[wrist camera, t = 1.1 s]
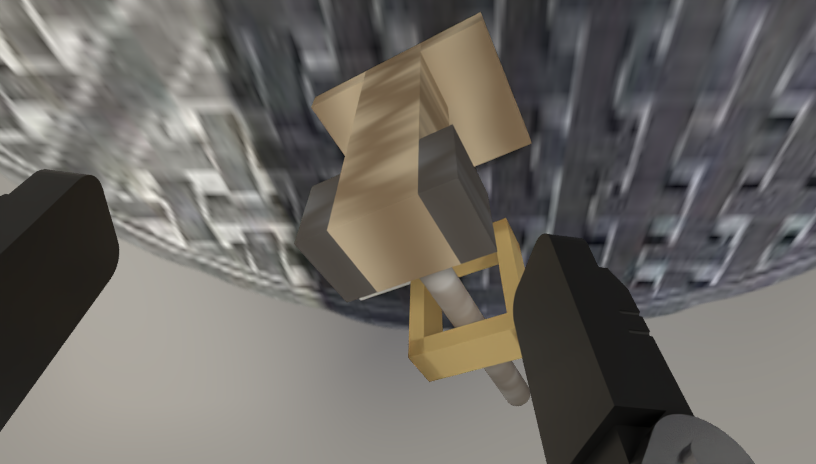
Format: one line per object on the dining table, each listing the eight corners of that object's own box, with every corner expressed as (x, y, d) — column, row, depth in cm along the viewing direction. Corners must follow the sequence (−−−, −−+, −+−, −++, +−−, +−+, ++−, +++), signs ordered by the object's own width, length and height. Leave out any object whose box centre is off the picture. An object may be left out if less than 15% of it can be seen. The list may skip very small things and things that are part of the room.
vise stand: (480, 12, 28) (522, 151, 16) (562, 220, 38) (626, 402, 26) (315, 97, 32) (247, 262, 20) (430, 266, 42) (432, 443, 30)
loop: (505, 218, 28) (528, 324, 22) (519, 245, 30) (543, 352, 24) (411, 251, 30) (408, 357, 24) (428, 276, 32) (429, 381, 26)
